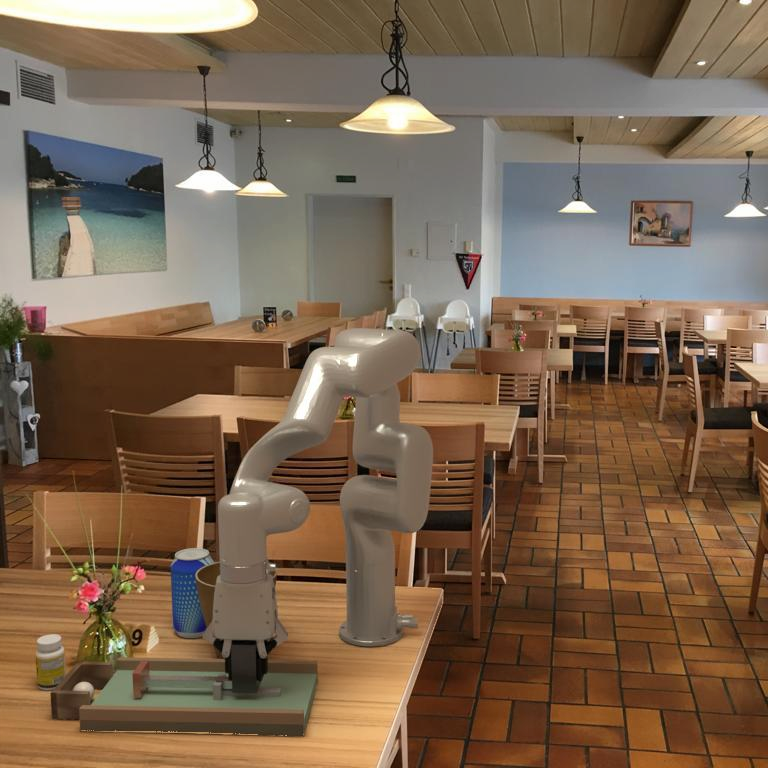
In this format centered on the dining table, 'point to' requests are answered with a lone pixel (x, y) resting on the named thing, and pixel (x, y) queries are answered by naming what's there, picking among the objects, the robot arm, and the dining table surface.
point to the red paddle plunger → (242, 676)
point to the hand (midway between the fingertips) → (246, 676)
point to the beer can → (188, 592)
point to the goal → (70, 701)
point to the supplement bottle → (50, 661)
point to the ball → (85, 688)
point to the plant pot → (211, 591)
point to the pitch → (205, 700)
